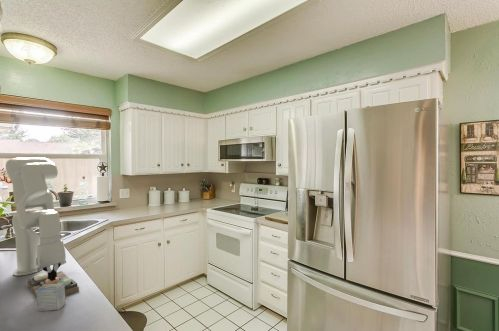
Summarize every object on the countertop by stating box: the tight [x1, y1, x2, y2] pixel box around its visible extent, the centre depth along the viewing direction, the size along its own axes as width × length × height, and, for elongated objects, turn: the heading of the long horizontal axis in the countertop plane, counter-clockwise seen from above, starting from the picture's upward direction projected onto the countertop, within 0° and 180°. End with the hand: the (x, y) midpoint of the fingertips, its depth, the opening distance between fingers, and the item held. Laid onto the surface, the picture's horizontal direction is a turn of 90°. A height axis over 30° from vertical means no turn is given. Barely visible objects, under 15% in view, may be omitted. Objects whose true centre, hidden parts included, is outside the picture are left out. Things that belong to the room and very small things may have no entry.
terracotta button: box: [45, 277, 59, 284], centre depth 115 cm, size 5×5×2 cm
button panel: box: [27, 271, 80, 298], centre depth 115 cm, size 26×13×3 cm, turn 50°
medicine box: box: [36, 283, 66, 312], centre depth 99 cm, size 8×4×9 cm, turn 92°
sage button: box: [57, 277, 72, 287], centre depth 112 cm, size 5×5×2 cm
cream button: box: [33, 272, 48, 282], centre depth 118 cm, size 5×5×2 cm
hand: (52, 279), depth 115 cm, fingers closed
